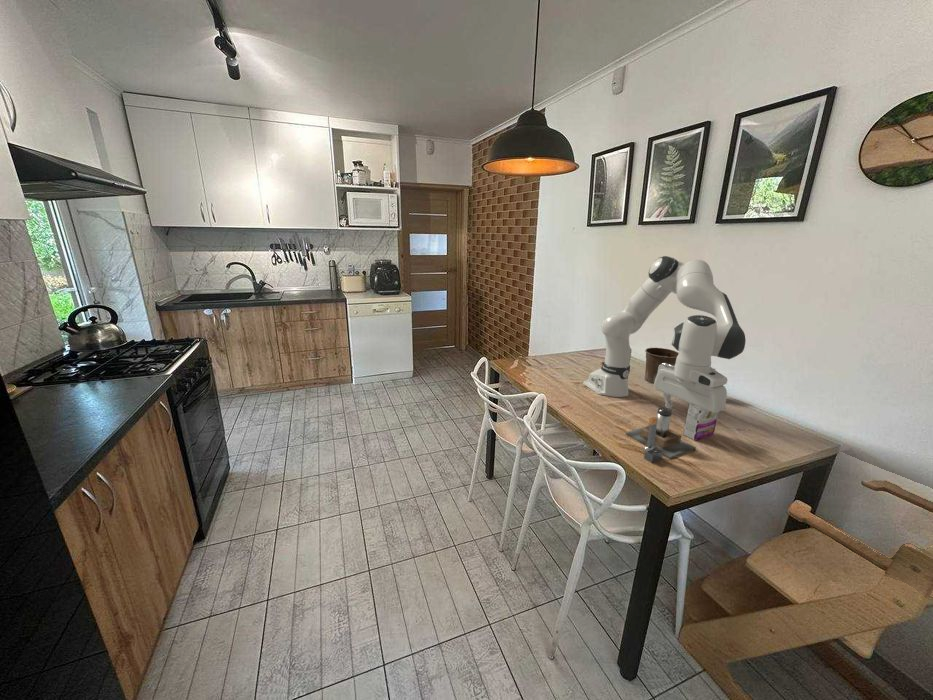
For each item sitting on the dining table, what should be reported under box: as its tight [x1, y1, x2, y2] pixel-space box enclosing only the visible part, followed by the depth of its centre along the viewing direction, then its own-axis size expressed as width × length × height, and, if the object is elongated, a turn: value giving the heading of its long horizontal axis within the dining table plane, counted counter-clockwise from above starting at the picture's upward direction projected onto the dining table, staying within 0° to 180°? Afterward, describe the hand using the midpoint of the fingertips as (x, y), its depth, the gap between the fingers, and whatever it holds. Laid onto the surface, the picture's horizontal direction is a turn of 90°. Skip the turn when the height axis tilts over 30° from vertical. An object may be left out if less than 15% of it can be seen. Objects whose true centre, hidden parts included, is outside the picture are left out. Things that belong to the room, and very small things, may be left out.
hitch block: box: [625, 425, 697, 460], centre depth 133 cm, size 18×14×4 cm
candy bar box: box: [682, 403, 719, 441], centre depth 137 cm, size 11×5×16 cm, turn 114°
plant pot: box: [644, 347, 679, 385], centre depth 190 cm, size 16×16×16 cm
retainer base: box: [642, 445, 663, 464], centre depth 123 cm, size 4×5×4 cm
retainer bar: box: [646, 416, 658, 447], centre depth 122 cm, size 1×3×10 cm, turn 116°
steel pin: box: [656, 406, 673, 438], centre depth 132 cm, size 4×4×12 cm
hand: (682, 413), depth 112 cm, fingers open, 8 cm apart
